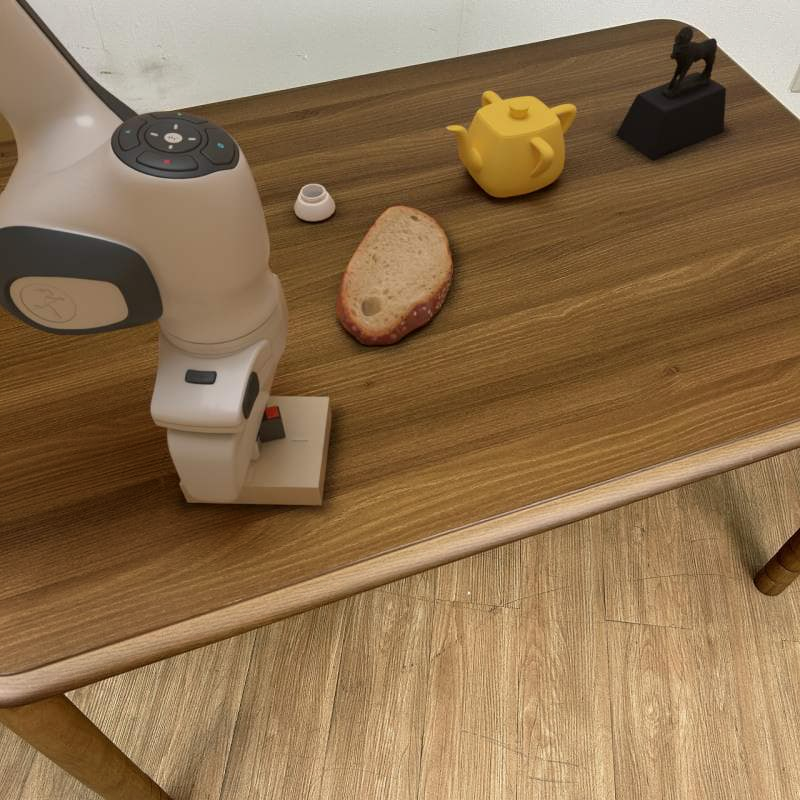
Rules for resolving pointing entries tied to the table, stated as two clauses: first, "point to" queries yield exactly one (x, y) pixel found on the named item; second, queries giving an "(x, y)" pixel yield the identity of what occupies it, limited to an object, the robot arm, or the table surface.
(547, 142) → the teapot
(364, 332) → the slice of bread
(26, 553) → the table surface
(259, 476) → the panel
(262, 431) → the red-tipped dark block
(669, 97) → the sculpture
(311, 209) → the lidless jar
